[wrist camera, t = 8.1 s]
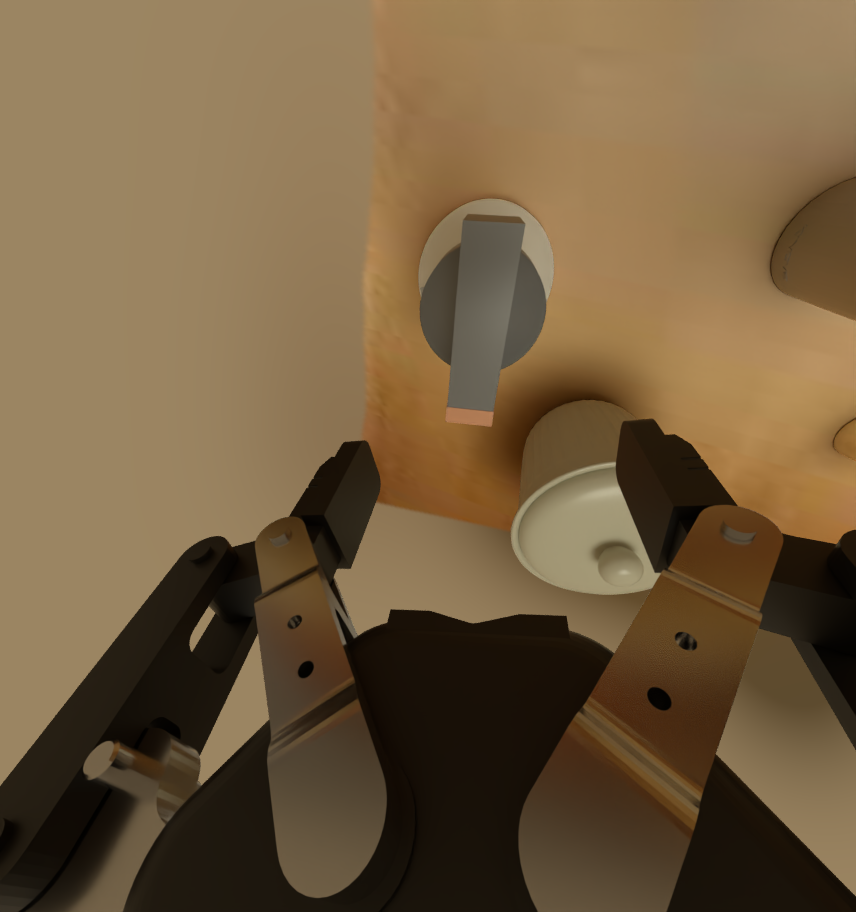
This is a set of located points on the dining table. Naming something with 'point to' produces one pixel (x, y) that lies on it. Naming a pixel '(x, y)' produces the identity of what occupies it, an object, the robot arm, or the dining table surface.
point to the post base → (451, 225)
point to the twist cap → (482, 312)
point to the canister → (578, 504)
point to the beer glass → (846, 440)
